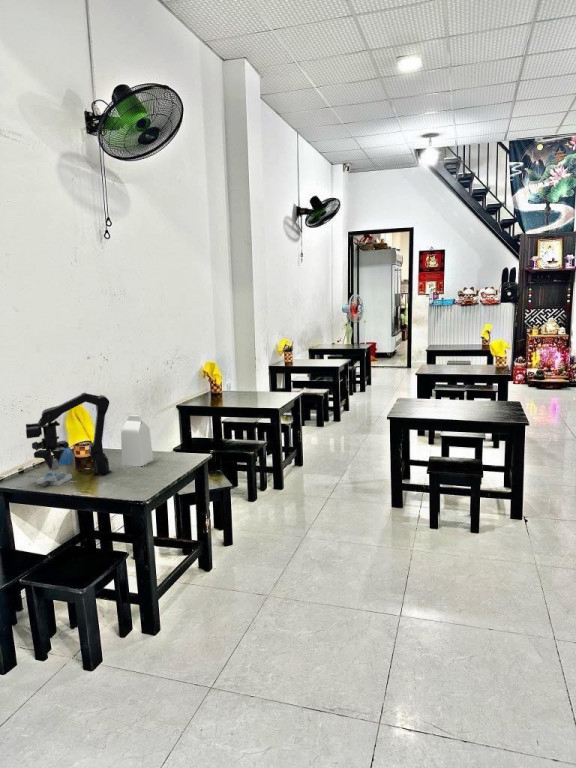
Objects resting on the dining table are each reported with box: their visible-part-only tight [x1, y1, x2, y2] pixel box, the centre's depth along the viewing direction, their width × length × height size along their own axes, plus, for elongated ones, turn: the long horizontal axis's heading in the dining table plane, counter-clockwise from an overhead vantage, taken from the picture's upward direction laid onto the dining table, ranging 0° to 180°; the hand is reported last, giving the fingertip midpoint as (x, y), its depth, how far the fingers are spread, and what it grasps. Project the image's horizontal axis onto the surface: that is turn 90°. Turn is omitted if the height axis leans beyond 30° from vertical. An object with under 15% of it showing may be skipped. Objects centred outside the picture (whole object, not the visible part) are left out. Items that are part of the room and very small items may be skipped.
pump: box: [48, 457, 60, 472], centre depth 257 cm, size 4×4×5 cm
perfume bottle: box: [58, 440, 73, 466], centre depth 285 cm, size 6×6×12 cm
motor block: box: [36, 470, 73, 489], centre depth 256 cm, size 12×14×4 cm
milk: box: [120, 414, 154, 467], centre depth 281 cm, size 12×12×26 cm
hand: (53, 466), depth 257 cm, fingers closed on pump, 4 cm apart
